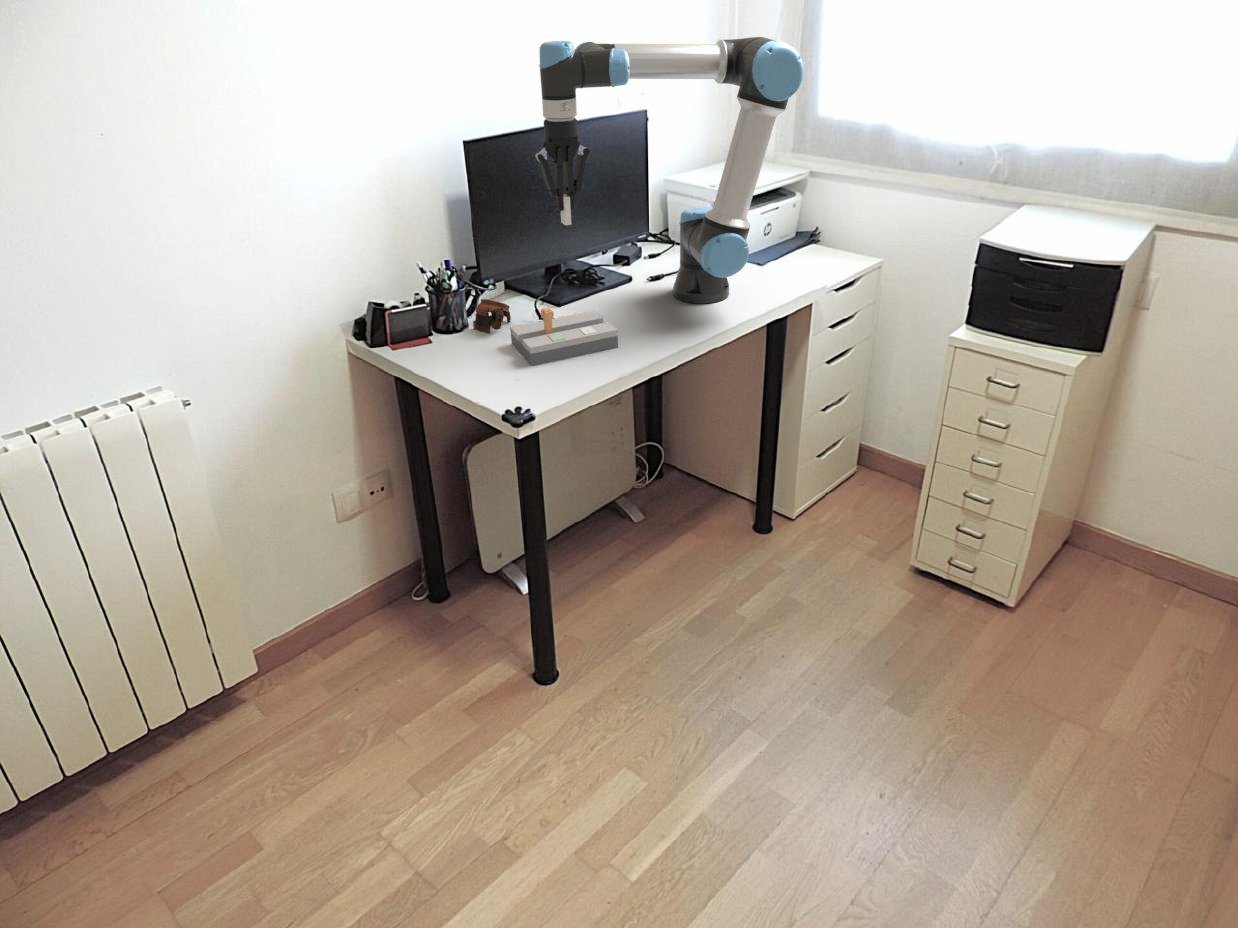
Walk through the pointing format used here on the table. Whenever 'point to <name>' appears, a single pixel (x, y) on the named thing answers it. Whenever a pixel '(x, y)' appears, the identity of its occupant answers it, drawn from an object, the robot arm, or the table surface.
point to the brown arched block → (496, 317)
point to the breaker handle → (547, 320)
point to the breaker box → (564, 338)
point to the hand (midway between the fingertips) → (566, 223)
